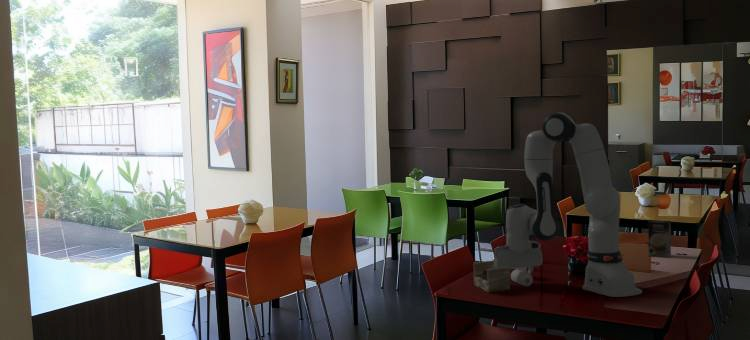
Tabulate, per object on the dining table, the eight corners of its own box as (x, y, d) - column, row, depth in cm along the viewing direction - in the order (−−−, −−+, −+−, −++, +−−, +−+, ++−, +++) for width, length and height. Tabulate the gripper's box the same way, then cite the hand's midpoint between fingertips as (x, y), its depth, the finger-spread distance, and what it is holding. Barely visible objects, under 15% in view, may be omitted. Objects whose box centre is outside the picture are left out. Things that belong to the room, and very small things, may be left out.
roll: (529, 288, 260) (535, 277, 260) (519, 283, 258) (525, 272, 259) (518, 283, 269) (523, 272, 269) (508, 278, 267) (513, 267, 268)
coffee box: (647, 256, 303) (647, 222, 302) (650, 253, 309) (649, 219, 307) (669, 257, 298) (668, 222, 297) (671, 255, 304) (671, 220, 302)
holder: (510, 290, 255) (509, 267, 254) (488, 292, 252) (488, 269, 252) (494, 282, 268) (493, 260, 268) (473, 284, 266) (473, 262, 265)
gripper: (497, 248, 257) (498, 282, 258) (544, 243, 262) (544, 277, 263) (490, 245, 263) (491, 279, 264) (536, 241, 268) (537, 274, 269)
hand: (518, 278), depth 264 cm, fingers open, 7 cm apart
